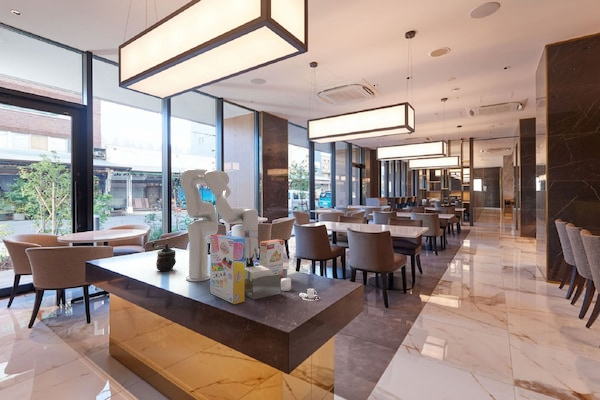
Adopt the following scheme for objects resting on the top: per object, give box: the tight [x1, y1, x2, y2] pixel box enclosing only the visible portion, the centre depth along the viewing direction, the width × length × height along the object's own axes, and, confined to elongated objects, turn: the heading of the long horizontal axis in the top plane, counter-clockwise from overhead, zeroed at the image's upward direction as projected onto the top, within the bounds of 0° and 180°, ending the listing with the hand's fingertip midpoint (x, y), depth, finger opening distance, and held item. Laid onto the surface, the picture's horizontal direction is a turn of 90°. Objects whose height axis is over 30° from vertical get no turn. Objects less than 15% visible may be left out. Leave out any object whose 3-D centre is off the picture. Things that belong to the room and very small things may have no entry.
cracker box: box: [259, 238, 285, 278], centre depth 164 cm, size 14×6×21 cm, turn 144°
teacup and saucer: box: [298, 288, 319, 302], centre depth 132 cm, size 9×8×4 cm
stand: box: [245, 274, 281, 300], centre depth 141 cm, size 20×14×9 cm
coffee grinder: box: [151, 241, 177, 272], centre depth 178 cm, size 13×15×18 cm
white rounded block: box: [280, 277, 292, 292], centre depth 144 cm, size 5×5×5 cm
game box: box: [209, 233, 246, 305], centre depth 131 cm, size 21×6×27 cm, turn 44°
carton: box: [245, 264, 270, 281], centre depth 141 cm, size 9×10×4 cm
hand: (249, 271), depth 146 cm, fingers closed
